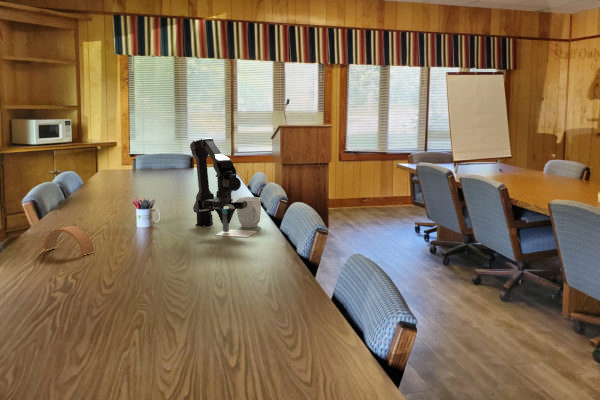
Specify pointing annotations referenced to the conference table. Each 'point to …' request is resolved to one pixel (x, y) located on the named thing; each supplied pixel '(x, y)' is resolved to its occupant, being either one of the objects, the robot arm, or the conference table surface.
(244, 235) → the paper
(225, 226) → the marker
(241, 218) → the mug
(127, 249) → the conference table surface
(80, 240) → the arch
